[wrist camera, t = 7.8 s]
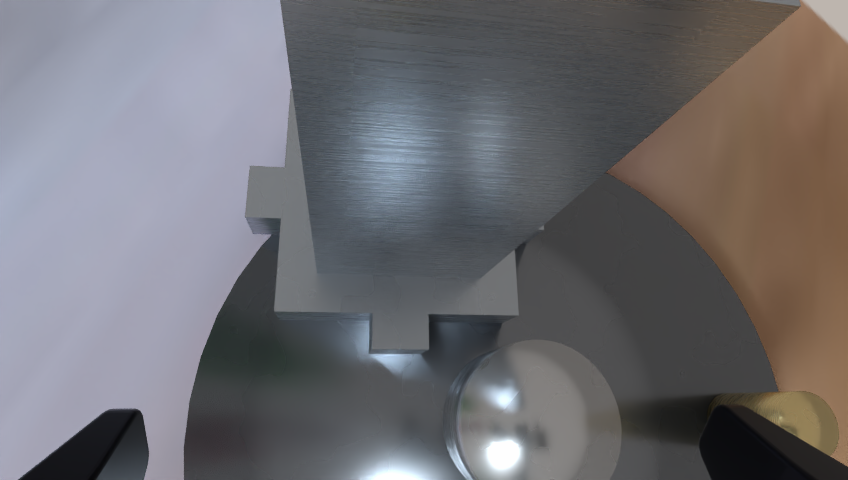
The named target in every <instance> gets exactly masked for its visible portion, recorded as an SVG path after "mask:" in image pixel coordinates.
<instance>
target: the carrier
mask: <svg viewBox="0 0 848 480" xmlns="http://www.w3.org/2000/svg"><path fill="white" fill-rule="evenodd" d="M279 238H280V235H271V236H270V238H269V239H268V240H267V241H266V242H265V243H264V244H263V245H262V246H261V247H260V249H259V250H258V252H257V253H256V254H255V256H254V257H253V258H252V260H251V261H250V262H249V264H248V265H247V267H246V268H245V269H244V271H243V272H242V273H241V275H240V276H239V277H238V279H237V281H236V283H235V284H234V286H233V288H232V290H231V292H230V293H229V295H228V297H227V299H226V301H225V302H224V304H223V306H222V308H221V310H220V312H219V313H218V315H217V318H216V320H215V323H214V325H213V328H212V330H211V333H210V335H209V338H208V340H207V343H206V345H205V348H204V350H203V353H202V355H201V359H200V363H199V367H198V370H197V374H196V378H195V382H194V386H193V390H192V394H191V398H190V403H189V411H188V419H187V427H186V435H185V444H184V480H711V478H710V476H709V474H708V471H707V469H706V467H705V464H704V462H703V460H702V457H701V455H700V451H699V438H700V436H701V434H702V432H703V429H704V427H705V425H706V423H707V421H708V419H709V417H710V414H711V412H712V410H713V409H714V408H715V407H716V406H717V405H721V404H739V405H743V406H746V407H748V408H749V409H751V410H753V411H754V412H756V413H758V414H759V415H761V416H763V417H764V418H766V419H768V420H770V421H771V422H773V423H775V424H776V425H778V426H780V427H781V428H783V429H785V430H786V431H788V432H790V433H791V434H793V435H795V436H797V437H798V438H800V439H802V440H803V441H805V442H807V443H808V444H810V445H812V446H813V447H815V448H817V449H818V450H820V451H822V452H824V453H825V454H827V455H829V456H830V455H831V454H832V453H833V452H834V451H835V449H836V447H837V444H838V439H839V429H838V424H837V420H836V418H835V415H834V413H833V411H832V410H831V408H830V407H829V406H828V404H827V403H826V402H825V401H824V400H823V399H821V398H820V397H819V396H817V395H815V394H813V393H810V392H805V391H797V392H779V391H778V388H777V385H776V382H775V378H774V375H773V372H772V368H771V365H770V362H769V360H768V357H767V355H766V353H765V350H764V348H763V345H762V343H761V341H760V338H759V336H758V334H757V331H756V329H755V327H754V325H753V323H752V321H751V319H750V318H749V316H748V314H747V312H746V310H745V308H744V307H743V305H742V303H741V301H740V299H739V297H738V296H737V294H736V293H735V291H734V290H733V288H732V287H731V285H730V284H729V282H728V281H727V280H726V278H725V277H724V275H723V274H722V272H721V271H720V269H719V268H718V267H717V265H716V264H715V263H714V261H713V260H712V259H711V258H710V257H709V256H708V254H707V253H706V252H705V251H704V250H703V249H702V248H701V246H700V245H699V244H698V243H697V242H696V241H695V239H694V238H693V237H692V236H691V235H690V234H689V233H688V232H687V231H686V230H684V229H683V228H682V227H681V226H680V225H679V224H678V223H677V222H676V221H675V220H674V219H673V218H672V217H671V216H670V215H669V214H667V213H666V212H665V211H664V210H662V209H661V208H660V207H658V206H657V205H656V204H654V203H653V202H652V201H650V200H649V199H648V198H646V197H645V196H644V195H642V194H641V193H640V192H638V191H636V190H635V189H633V188H631V187H630V186H628V185H626V184H625V183H623V182H621V181H620V180H618V179H616V178H615V177H613V176H611V175H609V174H607V173H604V174H603V175H602V176H601V177H599V178H598V179H597V180H596V181H595V182H594V183H592V184H591V185H590V186H589V187H588V188H586V189H585V190H584V191H583V192H582V193H581V194H579V195H578V196H577V197H576V198H575V199H574V200H572V201H571V202H570V203H569V204H568V205H566V206H565V207H564V208H563V209H562V210H561V211H559V212H558V213H557V214H556V215H555V216H554V217H552V218H551V219H550V220H549V221H548V222H546V223H545V224H544V230H543V231H542V232H541V233H540V234H539V235H537V236H536V237H535V238H534V239H533V240H531V241H530V242H529V243H528V244H521V245H519V246H518V247H517V248H516V249H515V262H516V278H517V294H518V310H519V316H517V317H515V318H512V319H510V320H508V321H506V322H504V323H452V322H429V350H427V351H425V352H424V353H422V354H368V352H369V321H314V320H279V318H278V317H277V315H276V314H275V312H274V305H275V291H276V278H277V265H278V251H279Z"/></svg>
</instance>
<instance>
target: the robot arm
mask: <svg viewBox="0 0 848 480" xmlns="http://www.w3.org/2000/svg"><path fill="white" fill-rule="evenodd" d="M699 451H700V455H701V457H702V460H703V462H704V464H705V467H706V469H707V471H708V474H709V476H710V478H711V480H848V467H847V466H845V465H844V464H842V463H840V462H839V461H837V460H835V459H834V458H832V457H830V456H829V455H827V454H825V453H824V452H822V451H820V450H818V449H817V448H815V447H813V446H812V445H810V444H808V443H807V442H805V441H803V440H802V439H800V438H798V437H797V436H795V435H793V434H791V433H790V432H788V431H786V430H785V429H783V428H781V427H780V426H778V425H776V424H775V423H773V422H771V421H770V420H768V419H766V418H764V417H763V416H761V415H759V414H758V413H756V412H754V411H753V410H751V409H749V408H748V407H746V406H743V405H739V404H721V405H717V406H716V407H715V408H714V409H713V410H712V412H711V414H710V417H709V419H708V421H707V423H706V425H705V427H704V429H703V432H702V434H701V436H700V438H699ZM148 457H149V449H148V443H147V437H146V432H145V426H144V420H143V415H142V413H141V412H140V410H138V409H110V410H107V411H105V412H104V413H102V414H101V415H100V416H98V417H97V418H96V419H94V420H93V421H92V422H91V423H89V424H88V425H87V426H86V427H84V428H83V429H82V430H81V431H79V432H78V433H77V434H75V435H74V436H73V437H72V438H70V439H69V440H68V441H67V442H65V443H64V444H63V445H61V446H60V447H59V448H58V449H56V450H55V451H54V452H53V453H51V454H50V455H49V456H48V457H46V458H45V459H44V460H42V461H41V462H40V463H39V464H37V465H36V466H35V467H34V468H32V469H31V470H30V471H28V472H27V473H26V474H25V475H23V476H22V477H21V478H20V479H18V480H144V476H145V473H146V469H147V465H148Z"/></svg>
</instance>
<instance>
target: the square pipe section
mask: <svg viewBox="0 0 848 480" xmlns="http://www.w3.org/2000/svg"><path fill="white" fill-rule="evenodd" d="M280 2H281V10H282V17H283V25H284V32H285V39H286V47H287V54H288V62H289V69H290V77H291V84H292V89H291V91H290V105H289V118H288V131H287V145H286V158H285V168H280V167H263V166H250V170H249V181H248V191H247V201H246V212H245V218H246V220H247V222H248V224H249V226H250V228H251V230H252V232H253V234H272V235H280V238H279V251H278V265H277V278H276V291H275V305H274V312H275V314H276V315H277V317H278V318H279V320H314V321H369V352H368V354H422V353H424V352H425V351H427V350H429V322H452V323H504V322H506V321H508V320H510V319H512V318H515V317H517V316H519V310H518V294H517V278H516V262H515V249H516V248H517V247H518V246H519V245H521V244H528V243H529V242H530V241H531V240H533V239H534V238H535V237H536V236H537V235H539V234H540V233H541V232H542V231H543V230H544V224H545V223H546V222H548V221H549V220H550V219H551V218H552V217H554V216H555V215H556V214H557V213H558V212H559V211H561V210H562V209H563V208H564V207H565V206H566V205H568V204H569V203H570V202H571V201H572V200H574V199H575V198H576V197H577V196H578V195H579V194H581V193H582V192H583V191H584V190H585V189H586V188H588V187H589V186H590V185H591V184H592V183H594V182H595V181H596V180H597V179H598V178H599V177H601V176H602V175H603V174H604V173H605V172H606V171H608V170H609V169H610V168H611V167H612V166H614V165H615V164H616V163H617V162H618V161H619V160H621V159H622V158H623V157H624V156H625V155H626V154H628V153H629V152H630V151H631V150H632V149H634V148H635V147H636V146H637V145H638V144H639V143H641V142H642V141H643V140H644V139H645V138H646V137H648V136H649V135H650V134H651V133H652V132H654V131H655V130H656V129H657V128H658V127H659V126H661V125H662V124H663V123H664V122H665V121H666V120H668V119H669V118H670V117H671V116H672V115H674V114H675V113H676V112H677V111H678V110H679V109H681V108H682V107H683V106H684V105H685V104H686V103H688V102H689V101H690V100H691V99H692V98H694V97H695V96H696V95H697V94H698V93H699V92H701V91H702V90H703V89H704V88H705V87H706V86H708V85H709V84H710V83H711V82H712V81H714V80H715V79H716V78H717V77H718V76H719V75H721V74H722V73H723V72H724V71H725V70H726V69H728V68H729V67H730V66H731V65H732V64H734V63H735V62H736V61H737V60H738V59H739V58H741V57H742V56H743V55H744V54H745V53H746V52H748V51H749V50H750V49H751V48H752V47H754V46H755V45H756V44H757V43H758V42H759V41H761V40H762V39H763V38H764V37H765V36H766V35H768V34H769V33H770V32H771V31H772V30H774V29H775V28H776V27H777V26H778V25H779V24H781V23H782V22H783V21H784V20H785V19H786V18H788V17H789V16H790V15H791V14H792V13H794V12H795V11H796V10H797V9H798V8H799V7H801V5H800V1H799V0H280Z"/></svg>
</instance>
